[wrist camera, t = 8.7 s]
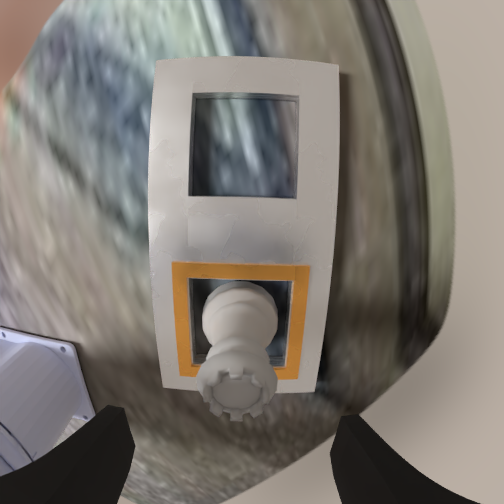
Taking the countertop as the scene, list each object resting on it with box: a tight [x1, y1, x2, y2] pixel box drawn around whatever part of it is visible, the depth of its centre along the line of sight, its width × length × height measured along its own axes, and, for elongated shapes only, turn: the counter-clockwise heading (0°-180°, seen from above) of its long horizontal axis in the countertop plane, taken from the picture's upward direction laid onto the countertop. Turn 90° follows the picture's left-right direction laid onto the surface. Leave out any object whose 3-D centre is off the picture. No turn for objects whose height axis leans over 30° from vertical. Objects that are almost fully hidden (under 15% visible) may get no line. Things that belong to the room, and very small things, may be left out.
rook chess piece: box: [196, 281, 278, 421], centre depth 14 cm, size 4×4×8 cm
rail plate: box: [148, 56, 340, 393], centre depth 16 cm, size 10×20×1 cm, turn 178°
